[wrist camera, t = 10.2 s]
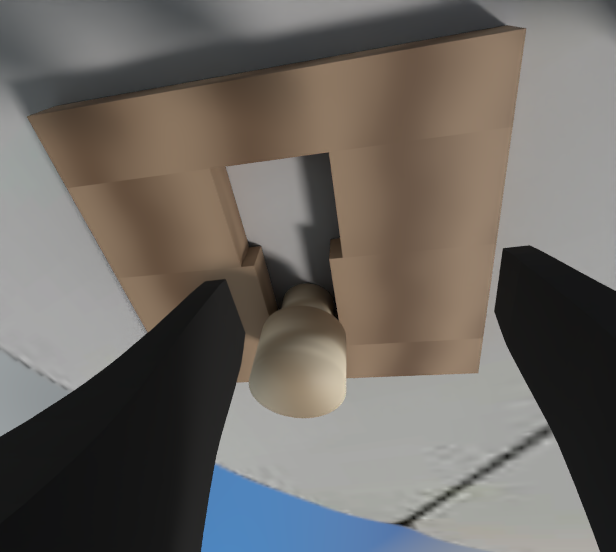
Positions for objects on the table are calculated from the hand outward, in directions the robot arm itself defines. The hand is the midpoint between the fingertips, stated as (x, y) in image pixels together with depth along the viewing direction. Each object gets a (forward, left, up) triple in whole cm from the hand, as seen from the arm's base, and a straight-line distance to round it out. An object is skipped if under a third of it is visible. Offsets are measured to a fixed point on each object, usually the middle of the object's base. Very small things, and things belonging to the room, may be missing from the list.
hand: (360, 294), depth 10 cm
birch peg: (+4, +9, -10) cm, 14 cm away
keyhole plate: (+4, +4, -10) cm, 12 cm away
